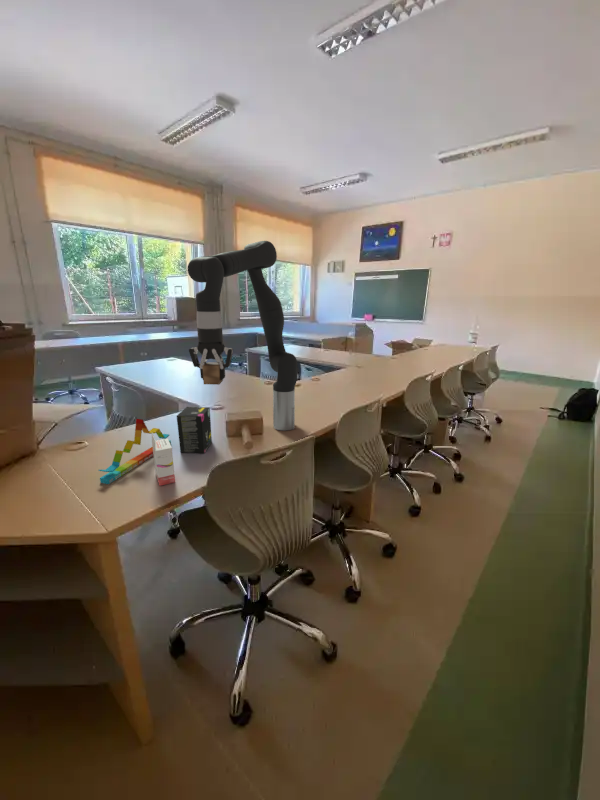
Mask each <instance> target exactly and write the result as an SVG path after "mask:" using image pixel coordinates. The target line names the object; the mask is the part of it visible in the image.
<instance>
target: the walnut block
mask: <svg viewBox="0 0 600 800" xmlns="http://www.w3.org/2000/svg"><path fill="white" fill-rule="evenodd" d="M202 368H203V378H202V380H203V385H218V386H219V385H221V384H222V382H223V381H224V379H223V380H220V367H219V365H218V363H217V361H216V362H214V361H213V362H206V364H204V365H203V366H202Z"/></svg>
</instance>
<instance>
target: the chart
mask: <svg viewBox="0 0 600 800" xmlns="http://www.w3.org/2000/svg"><path fill="white" fill-rule="evenodd" d="M142 432H143V434H151V435H152V433H153V434H156V435H157V437H158V438H159V439H167V438H169V436H170V434H169V433H168V434H167V433H162V431H161V429H160V428H156V427H152V428H151V429H150V430H149V429H148V427H147V425H146V423H145V421H144V419H140V418H136V419H135V429H134V438H133V439H134V440H126V442H125V446H124V448H123V450H119V449H118V450H117V449H116V450H115V453H114V457H113V460H112V463H111V464H110V465H109V466H108V467H107V468H106V469H98V472H99V471H100V472H104V473H106V474H104V475H102V476H101V477H99V482H100V483H101V484H105V485H110V484H111V483H113V482H114V481H116V480H117V479H119V478H121V477H122V476H124V475H125V474H126V473H129V472H130V471H132V470H133V469H135V468H136V467H138V466H139V465H141V464H142V463H144V462H146V461H147V460H149V459H150V458H153V457H154V455H153V447H152V446H150V447H149V448H148V449H145V450H144V451H143V452H141V453H139V454H137V455H136V456H135V457H133V458H131V459H129V460H128V461H125V462H124V463H122V464H121V460H122V457H123V453H125V454H126V453H127V454H130V453H131V451H132V448H133V445H138V446H141V443H142V441H141V440H142ZM168 440H169V442H170V445H171V446H172V440H171V439H168ZM120 464H121V465H120Z"/></svg>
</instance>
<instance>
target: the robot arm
mask: <svg viewBox="0 0 600 800" xmlns="http://www.w3.org/2000/svg"><path fill="white" fill-rule="evenodd" d="M276 250H277V249H276V247H275V246H274V244H273V243H272V242H271V241H269V240H260V241H257V242H255V241H254V242H251V243H248V244H246V245H245V246H244V248H243V249H239V250H231V251H225V252H221V253H218V254H213V255H206V256H205V255H204V256H197V257H194V258H192V259H190V261H189V262H188V265H187V273H188V276H189V277H190V278H191V279H192V280H193V281H194V282H196V283H205V285H204V286H205V287H204V289H203V290H200V291H198V292H197V293H196V295H195V307H196V327H197V329H196V330H197V342H198V345H197V346H196V347H191V348H189V349H188V352H189V355H190V359H191V361H192V365H193V367H194V368H196V367H197V368H199V371H200V378H201V379H203V368H202V366H203V365H204V364H206V363H207V361H208V360H210V359H211V360H215V361H216V362H217V363H218V365H219V367H220V380H223V381H224V379H225V378H226V368H229V366H231V364H232V360H233V359H232V358H233V352H234V348H233V347H226V346H225V345H224V339H223V337H224V336H223V335H224V334H223V320H222V315H221V303H220V302H221V300H220V299H221V293H222V289H223V288H222V287H223V283H224V278H227V277H230V276H235V275H237V274H240V273H243V272H245V271H247V273H248V276H249V279H250V282H251V285H252V289H253V292H254V296H255V299H256V300H255V301H256V303H257V309H258V313H259V317H260V321H261V326H262V329H263V333H264V338H265V341H266V345H267V353H268V361H269V365H270V367H271V369H272V370H273V371H274V372H276V373H277V379H276V381H274V382H273V384H272V394H273V395H272V397H273V399H272V403H273V404H272V405H273V407H272V412H273V414H272V416H273V423H272V424H273V428H274V430H277V431H284V432H285V431H290V430H295V424H296V423H295V421H296V420H295V411H296V409H295V408H296V407H295V401H296V400H295V399H296V398H295V397H296V396H295V391H296V383H297V382H298V381H297V380H298V359H297V357H296V355H294V354H293V353H290V352H287V351H286V348H285V344H284V340H283V332H284V328H285V327H284V325H285V317H284V316H285V315H284V310H283V306H282V305H283V304H282V302H281V300H280V299H279V297H278V296H277V294H275V292H274V291H273V290H272V289H271V287H270V286H269V285H268V283H267V281H266V280H265V277H264V274H263V269H268V268H271V267H272V266H274V265H275V264H276V262H277V257H278V255H277V251H276ZM198 352H199V353H200V355H201V358H200V359H201V360H199V357H198ZM224 352H225V355H226V359H225V361H224V358H223V356H222V354H223V353H224Z"/></svg>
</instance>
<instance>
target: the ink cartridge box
mask: <svg viewBox="0 0 600 800" xmlns="http://www.w3.org/2000/svg"><path fill="white" fill-rule="evenodd" d="M169 440H170V439H169V437H167V438H166V439H162V438H160V439H157V440H156V439H155V436H154V433H152V434H151V445H152V446H151V447H153V455H154V456H153V463H154V470H155V471H154V473H155V476H156V479H157V481H158V484H159V487H161V486H164V485H169V484H175V483H176V476H175V475H176V474H175V466H174V456H173V447H172V444H171V445H170V442H169Z"/></svg>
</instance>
